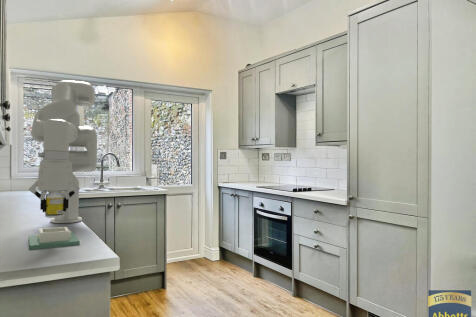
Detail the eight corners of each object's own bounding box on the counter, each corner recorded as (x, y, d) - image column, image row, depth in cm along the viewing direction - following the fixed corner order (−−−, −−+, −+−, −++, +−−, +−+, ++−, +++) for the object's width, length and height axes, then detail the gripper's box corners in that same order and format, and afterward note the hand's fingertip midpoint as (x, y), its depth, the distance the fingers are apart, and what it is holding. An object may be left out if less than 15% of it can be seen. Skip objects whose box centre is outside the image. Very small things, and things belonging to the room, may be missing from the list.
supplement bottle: (45, 216, 118) (46, 186, 119) (63, 215, 121) (64, 186, 121) (44, 218, 113) (45, 187, 114) (62, 217, 116) (63, 187, 116)
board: (28, 239, 121) (29, 226, 121) (73, 235, 129) (73, 223, 129) (29, 249, 108) (30, 235, 108) (79, 244, 115) (79, 231, 115)
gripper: (26, 155, 110) (24, 214, 109) (85, 157, 119) (84, 211, 118) (25, 156, 116) (24, 211, 116) (82, 157, 125) (80, 209, 125)
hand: (54, 210), depth 117 cm, fingers closed on supplement bottle, 5 cm apart
